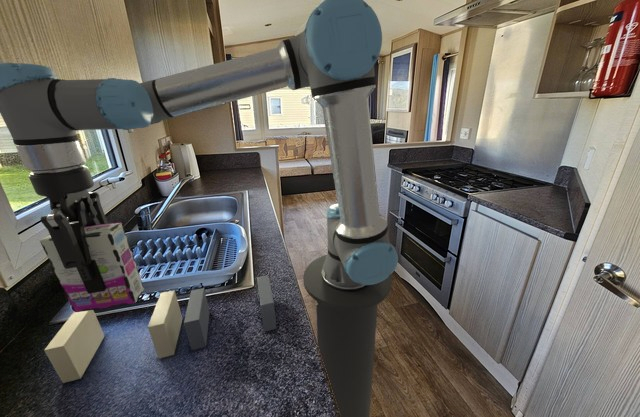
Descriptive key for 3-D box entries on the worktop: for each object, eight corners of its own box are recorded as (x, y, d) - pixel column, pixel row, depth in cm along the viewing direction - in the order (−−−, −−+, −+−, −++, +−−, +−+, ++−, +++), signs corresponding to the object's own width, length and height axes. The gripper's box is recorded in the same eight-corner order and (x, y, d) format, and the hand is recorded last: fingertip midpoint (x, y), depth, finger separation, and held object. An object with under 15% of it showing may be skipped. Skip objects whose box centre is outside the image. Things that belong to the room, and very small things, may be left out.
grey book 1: (209, 312, 69) (204, 287, 66) (205, 346, 59) (198, 319, 56) (197, 315, 68) (191, 290, 65) (191, 350, 58) (183, 323, 55)
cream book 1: (104, 335, 62) (91, 306, 59) (80, 378, 52) (63, 345, 49) (89, 339, 61) (75, 309, 58) (62, 383, 52) (43, 350, 48)
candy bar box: (145, 288, 58) (123, 221, 52) (136, 304, 53) (110, 232, 47) (88, 296, 56) (57, 227, 49) (72, 313, 51) (36, 240, 45)
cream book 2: (182, 318, 67) (174, 290, 63) (174, 354, 57) (163, 323, 54) (169, 321, 66) (160, 292, 63) (158, 358, 56) (147, 327, 53)
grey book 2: (270, 299, 73) (268, 275, 70) (276, 328, 63) (273, 302, 60) (260, 301, 72) (256, 277, 69) (264, 332, 62) (260, 305, 59)
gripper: (62, 160, 51) (102, 261, 60) (-17, 185, 35) (53, 319, 44) (107, 157, 53) (139, 255, 62) (52, 179, 37) (106, 308, 46)
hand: (104, 281), depth 53 cm, fingers closed on candy bar box, 5 cm apart
